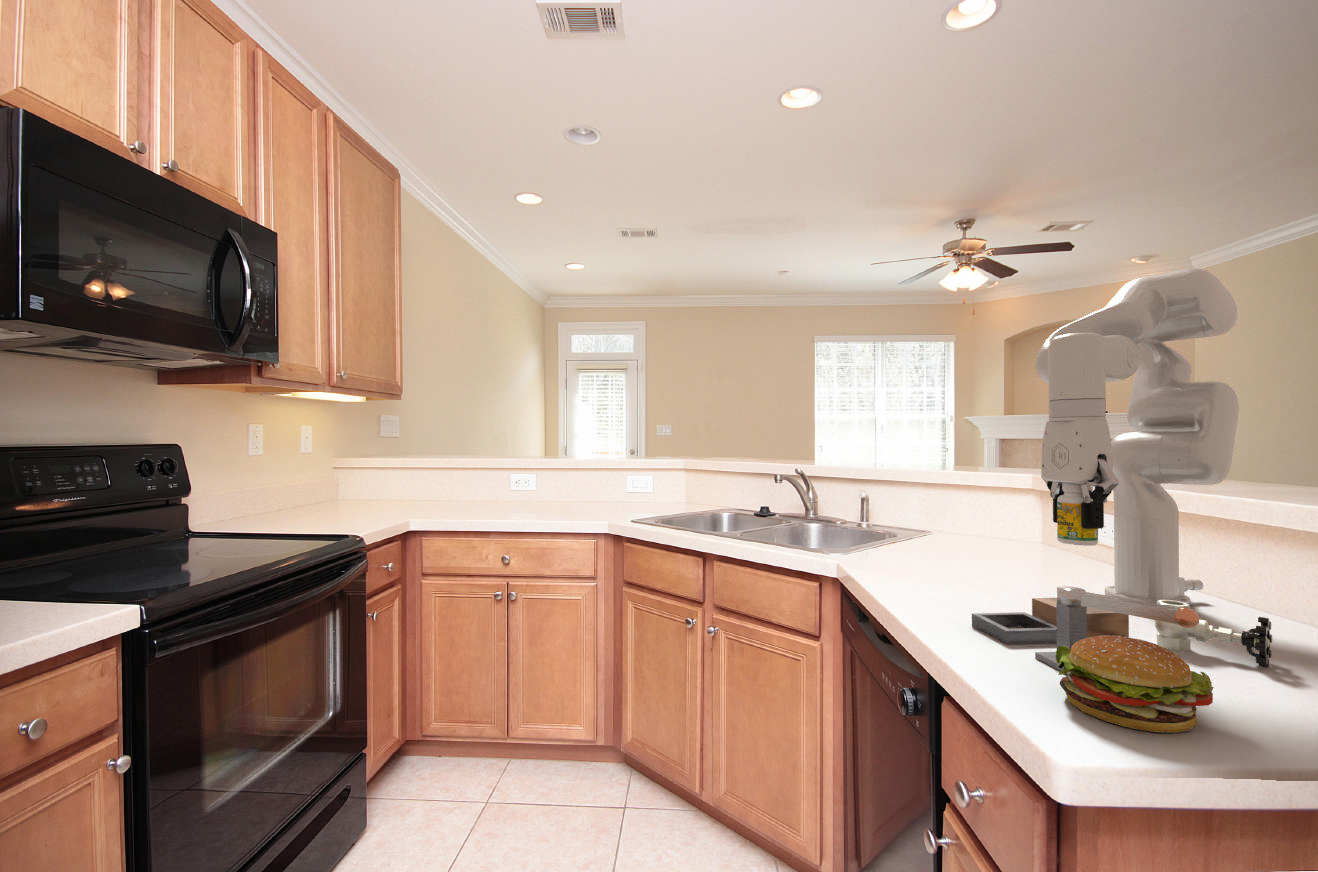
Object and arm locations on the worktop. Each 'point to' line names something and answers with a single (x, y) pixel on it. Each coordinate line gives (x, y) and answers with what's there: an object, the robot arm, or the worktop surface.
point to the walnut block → (1096, 618)
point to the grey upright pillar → (1066, 631)
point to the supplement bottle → (1073, 518)
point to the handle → (1127, 606)
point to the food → (1133, 683)
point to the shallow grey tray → (1031, 634)
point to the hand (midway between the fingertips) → (1077, 524)
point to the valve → (1214, 635)
